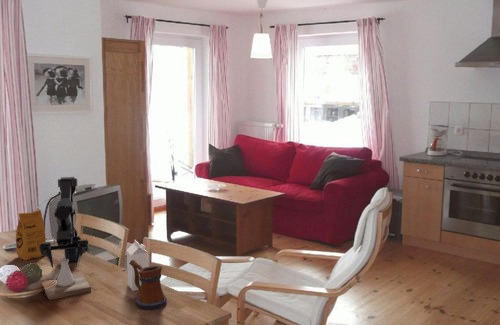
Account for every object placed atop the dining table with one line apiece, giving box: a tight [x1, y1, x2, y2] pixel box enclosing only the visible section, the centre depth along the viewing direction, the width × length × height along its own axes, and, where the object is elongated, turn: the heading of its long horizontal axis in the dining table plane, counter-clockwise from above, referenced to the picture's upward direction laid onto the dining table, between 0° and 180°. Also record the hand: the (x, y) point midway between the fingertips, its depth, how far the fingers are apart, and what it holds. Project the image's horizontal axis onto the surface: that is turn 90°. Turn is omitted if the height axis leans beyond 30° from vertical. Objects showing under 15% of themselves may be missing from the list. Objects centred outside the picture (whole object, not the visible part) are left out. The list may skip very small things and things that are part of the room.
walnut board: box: [44, 273, 92, 301], centre depth 213 cm, size 16×16×2 cm
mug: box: [129, 260, 168, 310], centre depth 200 cm, size 18×12×15 cm, turn 47°
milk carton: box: [126, 239, 150, 292], centre depth 213 cm, size 7×7×19 cm
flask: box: [56, 258, 76, 287], centre depth 212 cm, size 7×7×10 cm
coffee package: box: [15, 209, 47, 261], centre depth 250 cm, size 10×12×22 cm
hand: (64, 266), depth 210 cm, fingers open, 9 cm apart
